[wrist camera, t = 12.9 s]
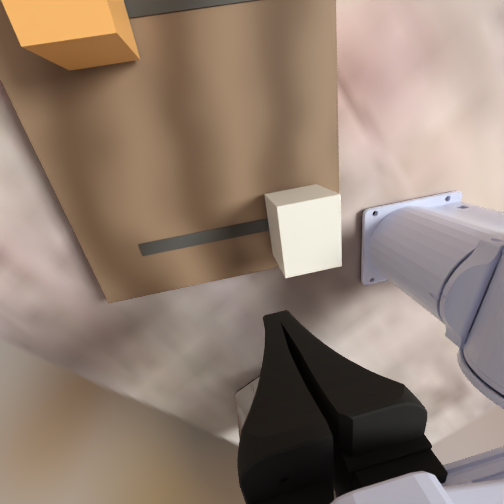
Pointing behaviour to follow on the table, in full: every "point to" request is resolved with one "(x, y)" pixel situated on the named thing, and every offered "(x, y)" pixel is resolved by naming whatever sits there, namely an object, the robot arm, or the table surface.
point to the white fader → (305, 229)
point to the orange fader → (74, 31)
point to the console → (184, 135)
